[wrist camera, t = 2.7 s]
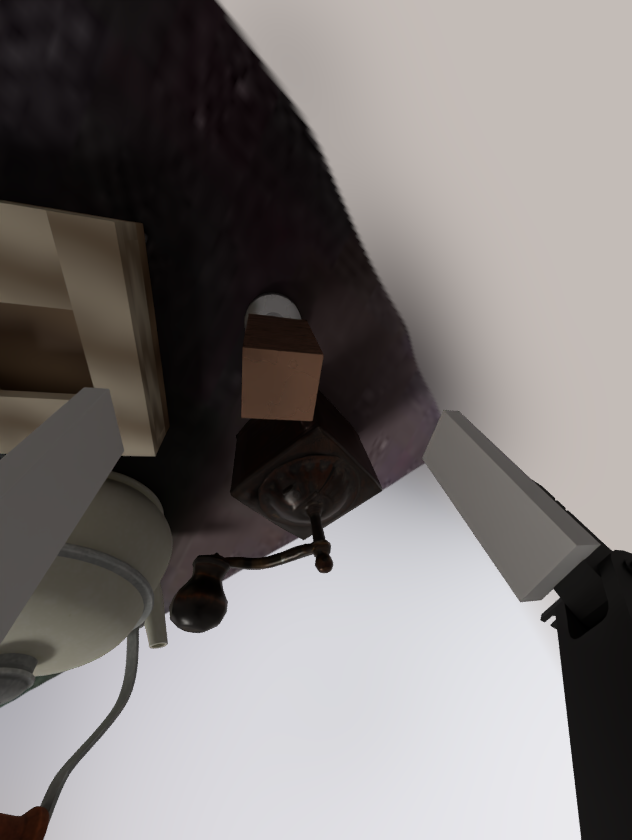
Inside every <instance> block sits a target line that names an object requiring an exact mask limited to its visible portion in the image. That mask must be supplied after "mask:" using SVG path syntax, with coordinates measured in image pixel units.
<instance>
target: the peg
mask: <svg viewBox="0 0 632 840" xmlns="http://www.w3.org/2000/svg"><path fill="white" fill-rule="evenodd" d="M245 330H246V331H245V337H244V343H243V359H242V409H241V418H256V419H278V420H299V421H313V415H314V409H315V403H316V397H317V391H318V385H319V379H320V374H321V368H322V362H323V356H324V355H323V353H322V351H321V349H320V347H319V345H318V342H317V340H316V338H315V336H314V334H313V332H312V330H311V328H310V326H309V324H308V322H307V320H301V316H300V313H299V311H298V309H297V307H296V305H295V304H294V303H293V302H292V301H291V300H290V299H289V298H288V297H286V296H284V295H282V294H280V293H274V292H269V293H264V294H261V295H259V296H257V297H256V298H255V299H254V300H253V301H252V302H251V303H250V304H249V306H248V308H247V311H246V315H245Z"/></svg>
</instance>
